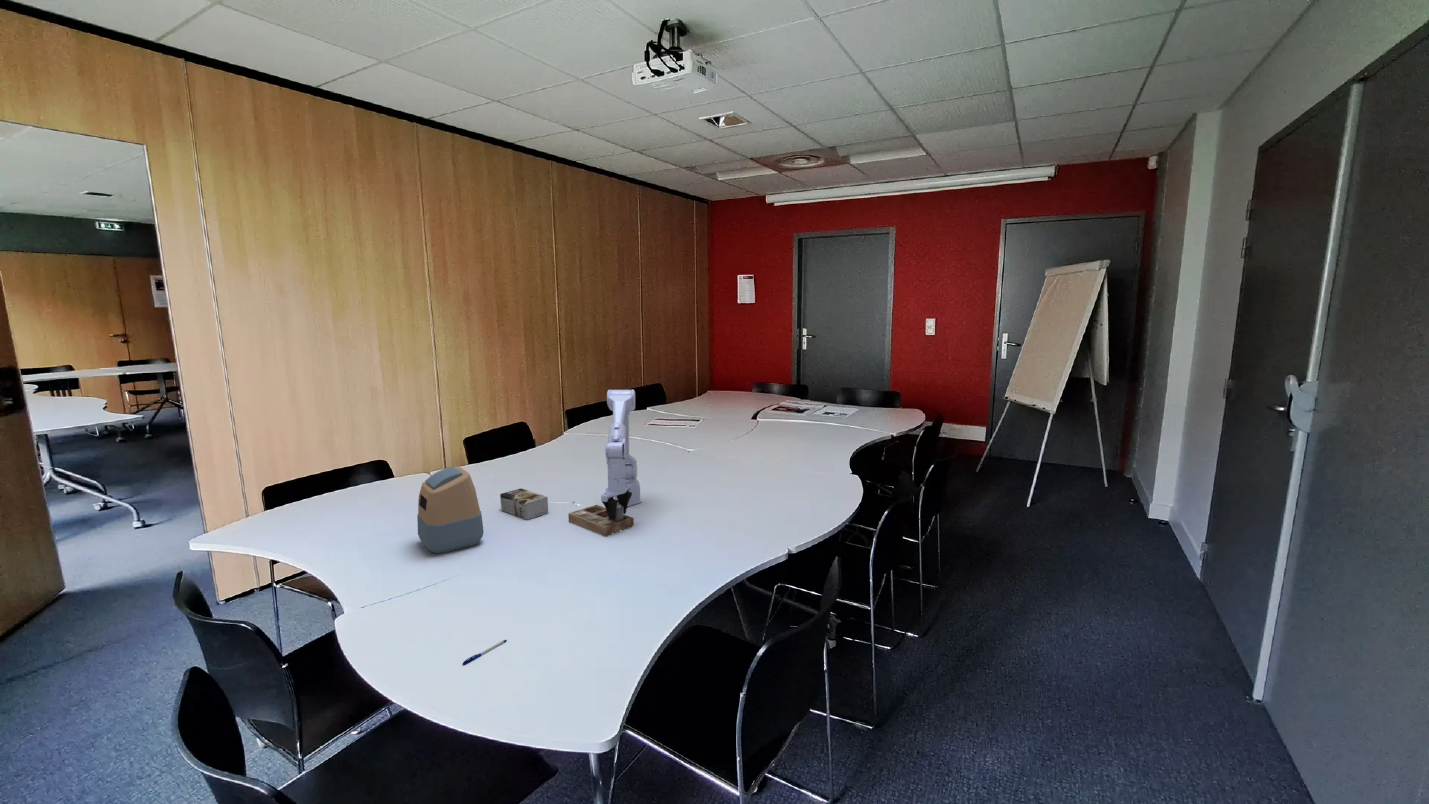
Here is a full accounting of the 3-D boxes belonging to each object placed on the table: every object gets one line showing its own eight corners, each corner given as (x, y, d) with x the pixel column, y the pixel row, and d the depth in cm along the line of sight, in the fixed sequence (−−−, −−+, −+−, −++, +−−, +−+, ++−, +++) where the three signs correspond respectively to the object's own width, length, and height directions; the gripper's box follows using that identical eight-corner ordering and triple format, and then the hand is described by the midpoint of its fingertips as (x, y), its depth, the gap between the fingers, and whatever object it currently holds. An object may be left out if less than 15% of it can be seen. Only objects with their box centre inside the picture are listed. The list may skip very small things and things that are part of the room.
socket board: (596, 512, 206) (596, 503, 206) (633, 526, 193) (633, 516, 193) (568, 521, 197) (568, 512, 197) (605, 536, 184) (605, 526, 184)
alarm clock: (415, 541, 180) (410, 470, 176) (470, 529, 190) (466, 461, 187) (429, 559, 167) (423, 483, 163) (488, 544, 178) (483, 472, 174)
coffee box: (526, 502, 197) (499, 493, 207) (527, 520, 198) (500, 510, 208) (548, 495, 204) (521, 487, 214) (548, 513, 205) (522, 503, 215)
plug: (616, 523, 195) (616, 502, 194) (625, 526, 194) (626, 504, 192) (609, 527, 192) (609, 506, 190) (618, 530, 190) (619, 508, 189)
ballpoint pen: (464, 667, 117) (464, 662, 117) (461, 665, 118) (461, 661, 117) (507, 642, 126) (507, 638, 126) (504, 641, 126) (504, 636, 126)
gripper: (619, 470, 198) (620, 507, 200) (593, 481, 185) (594, 520, 187) (636, 472, 195) (637, 510, 197) (610, 483, 182) (611, 524, 184)
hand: (617, 516), depth 192 cm, fingers open, 5 cm apart
